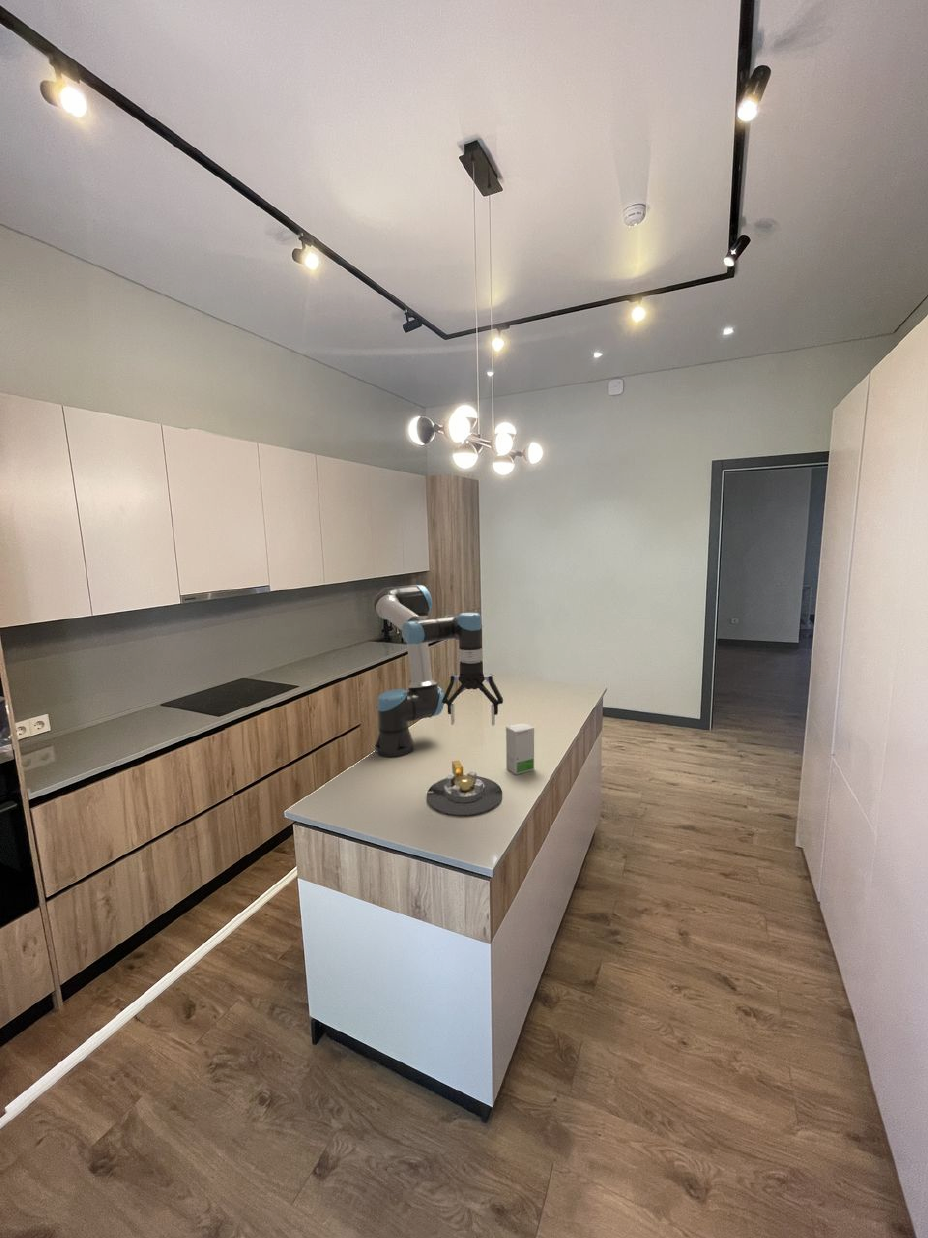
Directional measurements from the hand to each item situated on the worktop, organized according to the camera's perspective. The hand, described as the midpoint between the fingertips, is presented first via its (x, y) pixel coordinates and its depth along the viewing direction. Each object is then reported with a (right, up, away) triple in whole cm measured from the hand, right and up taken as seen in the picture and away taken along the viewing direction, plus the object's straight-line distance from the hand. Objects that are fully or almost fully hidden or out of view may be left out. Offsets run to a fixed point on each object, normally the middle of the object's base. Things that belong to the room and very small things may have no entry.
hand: (473, 723), depth 159 cm
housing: (-3, -22, -6) cm, 23 cm away
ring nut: (-3, -20, -4) cm, 21 cm away
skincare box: (+17, -19, +12) cm, 28 cm away
